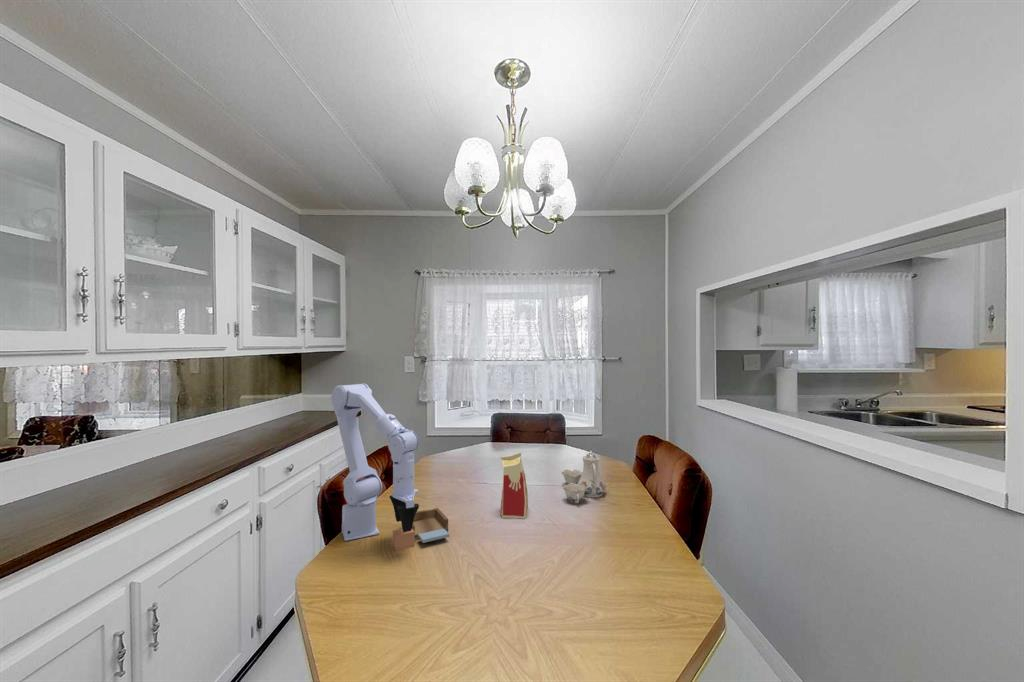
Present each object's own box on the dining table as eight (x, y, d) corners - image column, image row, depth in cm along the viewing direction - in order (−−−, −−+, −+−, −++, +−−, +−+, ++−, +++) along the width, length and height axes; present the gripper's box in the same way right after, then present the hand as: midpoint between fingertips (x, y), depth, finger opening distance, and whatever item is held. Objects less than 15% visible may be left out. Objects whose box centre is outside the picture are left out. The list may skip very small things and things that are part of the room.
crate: (412, 542, 113) (412, 528, 113) (402, 527, 123) (402, 514, 123) (449, 534, 118) (449, 520, 119) (437, 520, 128) (437, 507, 128)
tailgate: (418, 538, 114) (422, 544, 110) (418, 534, 114) (422, 539, 110) (443, 532, 118) (449, 537, 114) (443, 528, 118) (449, 533, 114)
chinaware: (558, 485, 167) (554, 445, 167) (599, 481, 166) (594, 441, 167) (566, 512, 139) (561, 464, 139) (615, 507, 138) (609, 458, 139)
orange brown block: (396, 551, 109) (396, 535, 109) (392, 545, 112) (392, 530, 112) (414, 546, 111) (414, 531, 111) (410, 540, 115) (410, 526, 115)
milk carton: (528, 508, 138) (527, 449, 139) (526, 519, 129) (526, 456, 130) (501, 507, 139) (501, 448, 140) (498, 518, 130) (498, 455, 130)
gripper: (425, 480, 108) (425, 532, 107) (411, 467, 121) (411, 513, 120) (398, 485, 104) (398, 538, 104) (387, 471, 117) (387, 518, 117)
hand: (403, 525), depth 112 cm, fingers open, 7 cm apart
